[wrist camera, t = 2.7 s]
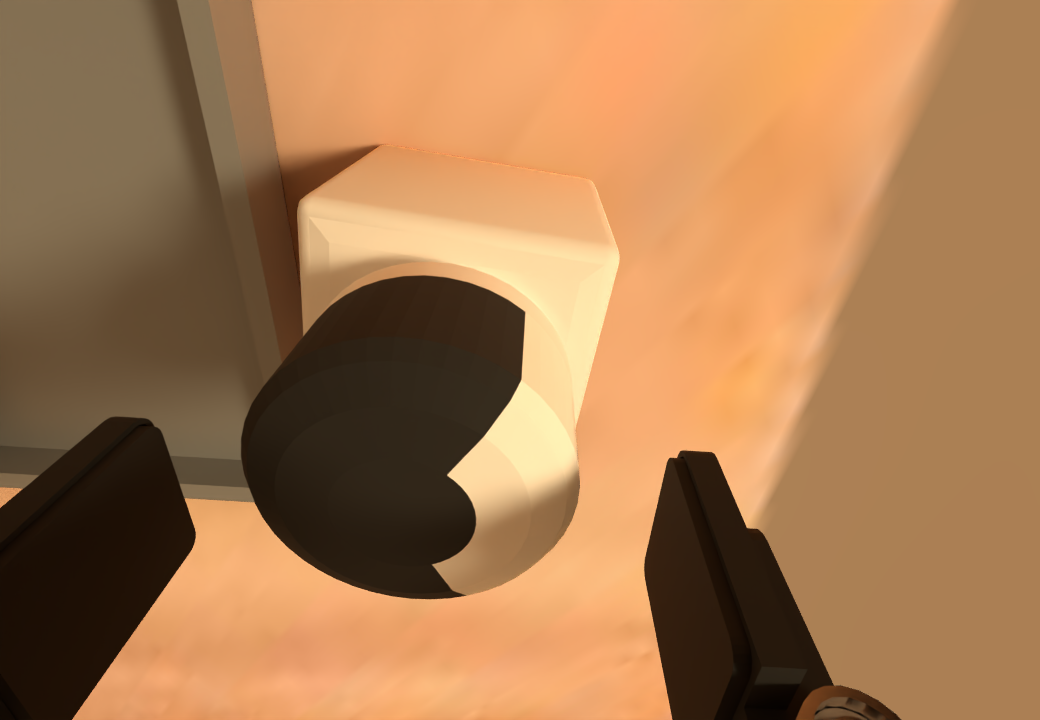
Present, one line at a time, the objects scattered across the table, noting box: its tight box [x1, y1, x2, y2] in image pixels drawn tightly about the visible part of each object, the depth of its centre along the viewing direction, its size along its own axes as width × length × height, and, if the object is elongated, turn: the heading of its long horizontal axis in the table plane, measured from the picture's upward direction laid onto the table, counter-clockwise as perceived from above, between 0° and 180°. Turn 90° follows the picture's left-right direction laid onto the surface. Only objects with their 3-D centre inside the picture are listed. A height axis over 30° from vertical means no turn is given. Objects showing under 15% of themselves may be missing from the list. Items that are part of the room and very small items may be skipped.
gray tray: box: [0, 0, 303, 502], centre depth 19 cm, size 20×15×2 cm
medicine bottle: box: [241, 144, 619, 599], centre depth 14 cm, size 7×7×12 cm
